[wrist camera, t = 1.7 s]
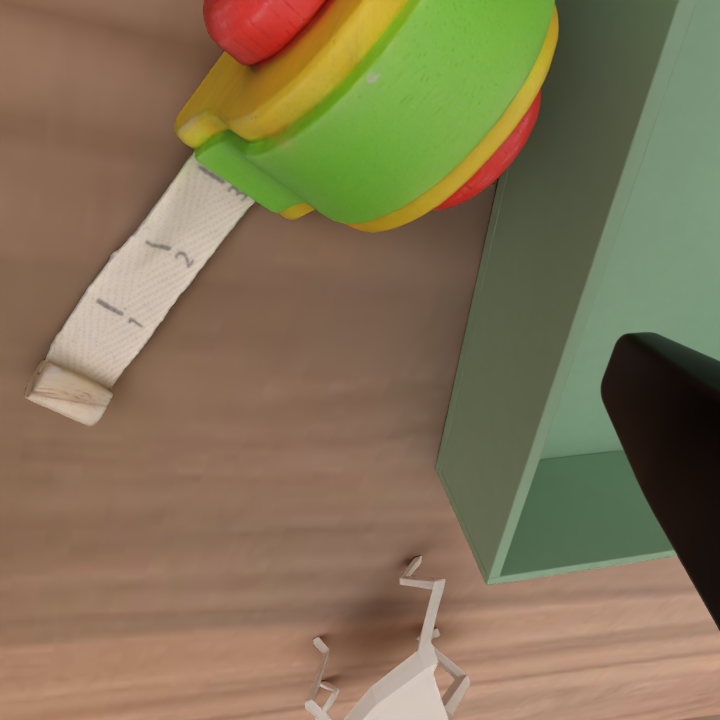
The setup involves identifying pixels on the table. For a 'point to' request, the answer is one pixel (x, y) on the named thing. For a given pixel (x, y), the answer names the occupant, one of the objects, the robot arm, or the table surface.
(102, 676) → the table surface
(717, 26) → the tray
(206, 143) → the toy measuring tape
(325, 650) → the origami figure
